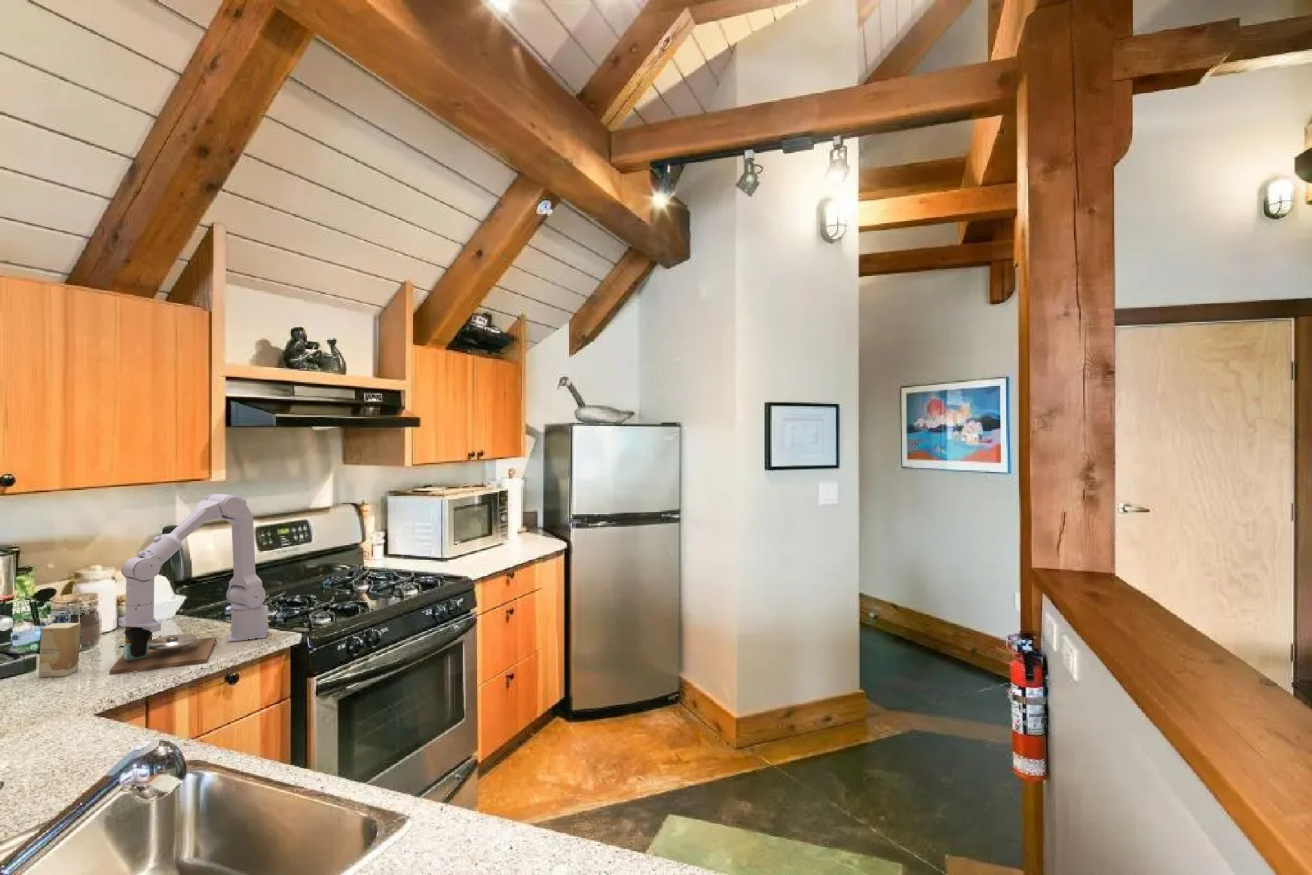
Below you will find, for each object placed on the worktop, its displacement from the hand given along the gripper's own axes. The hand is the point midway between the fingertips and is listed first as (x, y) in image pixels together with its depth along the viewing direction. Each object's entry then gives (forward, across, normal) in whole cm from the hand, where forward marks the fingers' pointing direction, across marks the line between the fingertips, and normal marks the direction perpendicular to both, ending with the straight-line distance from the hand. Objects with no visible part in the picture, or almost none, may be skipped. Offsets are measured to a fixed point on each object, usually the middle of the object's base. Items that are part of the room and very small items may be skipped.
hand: (138, 655), depth 165 cm
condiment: (+3, -21, +12) cm, 24 cm away
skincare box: (+3, -11, -12) cm, 16 cm away
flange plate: (+1, -1, +6) cm, 6 cm away
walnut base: (+3, 0, +8) cm, 9 cm away
